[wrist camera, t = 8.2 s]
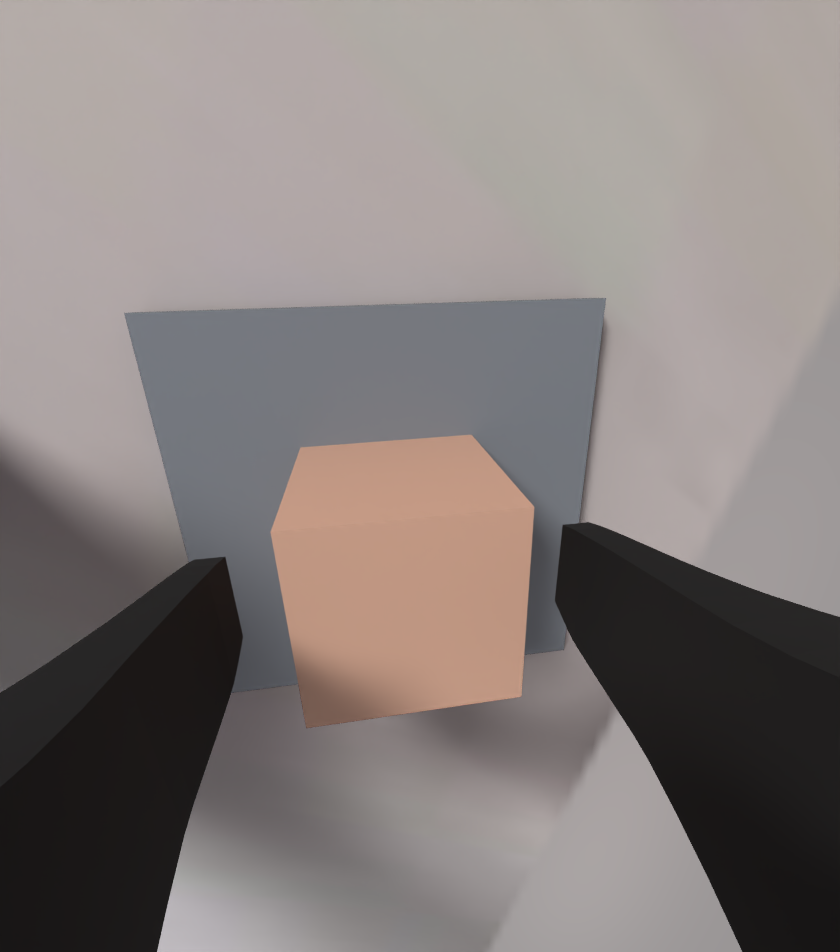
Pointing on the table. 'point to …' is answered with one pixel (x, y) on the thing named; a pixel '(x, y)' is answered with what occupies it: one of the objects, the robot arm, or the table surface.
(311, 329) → the mat
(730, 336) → the table surface
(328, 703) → the cube
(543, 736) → the table surface
